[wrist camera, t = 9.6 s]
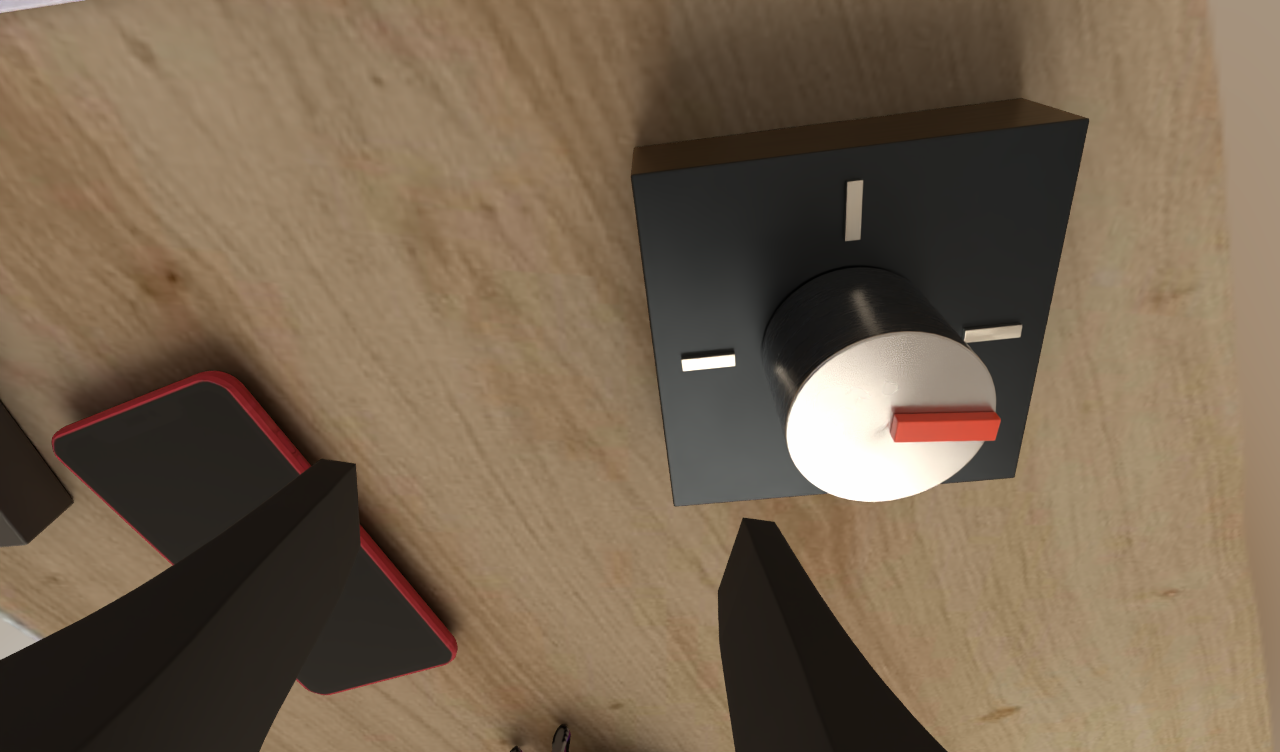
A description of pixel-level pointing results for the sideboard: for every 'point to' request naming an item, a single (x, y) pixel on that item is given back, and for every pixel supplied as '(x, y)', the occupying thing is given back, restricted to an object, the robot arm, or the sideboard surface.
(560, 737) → the character figure
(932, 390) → the dimmer knob
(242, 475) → the smartphone
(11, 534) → the light switch
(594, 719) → the sideboard surface
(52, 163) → the sideboard surface
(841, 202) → the dimmer panel
